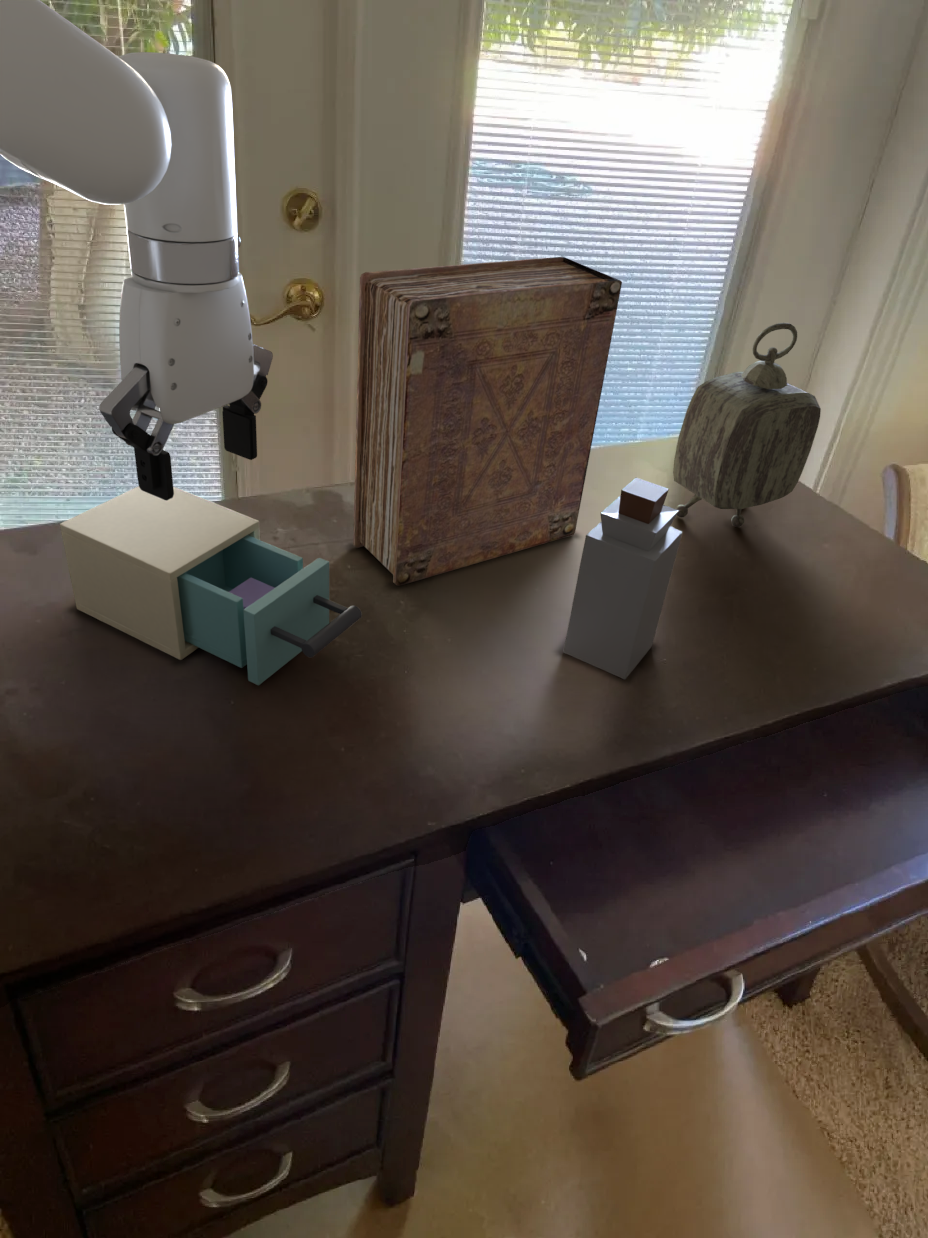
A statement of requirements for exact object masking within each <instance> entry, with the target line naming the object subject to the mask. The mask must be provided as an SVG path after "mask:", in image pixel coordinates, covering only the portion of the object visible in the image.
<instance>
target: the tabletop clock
mask: <svg viewBox="0 0 928 1238" xmlns="http://www.w3.org/2000/svg"><path fill="white" fill-rule="evenodd" d="M778 330H788V331H790V332H791V335H792V339H791V342H790V344H789V345H788V346H787V347H785V348H784V349H783V350H781V351H779V352H778V349H777V348H776V347H774V346H772V347H769V348H768V350H767V353H766V354H762V353H759V352H758V346H759V344H760V342H761V341H762V340H763V339H764V338H765V337H766V336H767V335H768V334H770V333H771V332H774V331H778ZM797 340H798V330H797V329H796V327H795V326H794V325H793V324H792V323H789V322H779V323H775V324H772V325H769V326H767V327H766V328H765V329H763V330H762V331H761V332H760V333H759V334H758V335H757V337H756V338H755V340H754V342H753V344H752V355H753V356H754V358H755V359H757V361H755V362H753V363H751V364H750V365H748V366H747V367H746V368H745V369H744V370H743V371H735V372H731V373H727V374H724V375H720V376H716V377H712V378H710V379H708V380H706V381H704V382H703V383H701V384H700V385H698V386H697V388H696V390H695V391H694V393H693V395H692V396H691V399H690V401H689V404H688V406H687V409H686V411H685V415H684V418H683V421H682V425H681V428H680V431H679V434H678V437H677V443H676V448H675V455H674V460H673V468H672V474H673V475H672V476H673V481H674V482H675V483H677V484H678V485H680V486H682V487H683V488H684V489H686V490H687V491H689V492H691V493H692V494H693V496H692V497H691V499H689V501H687V503H685V504H678V505H677V506H676V507H675V509H676V510H679V511H678V513H677V515H676V517H678V518H685V517H686V516H687V515H688V514H689V508H690V507H692V506H693V505H695V504H696V503H697V502H699V501H701V500H703V501H705V502H707V503H708V504H709V505H711V506H713V507H714V508H717V509H720V510H735V513H736V514H734V515H733V516H732V517H731V521H730V522H731V525H732V527H735V528H740V527H743V526H744V524H745V522H746V521H745V517H744V515H742V510H743V509H747V508H748V509H749V508H753V507H757V506H762V505H765V504H768V503H771V502H774V501H777V500H779V499H783V498H784V497H786V496H788V495H789V494H790V493H792V492H793V491H794V490H795V488H796V486H797V484H798V482H799V480H800V478H801V476H802V474H803V471H804V469H805V466H806V463H807V460H808V458H809V455H810V453H811V451H812V447H813V445H814V442H815V441H814V440H815V438H816V434H817V431H818V428H819V424H820V420H821V412H822V409H821V406H820V404H819V402H818V399H817V398H816V396H815V395H813V394H812V393H810V392H808V391H805V390H803V389H801V388H799V387H797V386H795V385H793V384H790V383H788V379H787V374H786V372H785V370H784V369H783V367H782V366H781V364H779V363H777V362H776V360H778V359H781V358H783V357H784V356H787V355H788V354H789V353H790V352H791V350H792V349H793V348H794V347H795V345H796V343H797Z"/></svg>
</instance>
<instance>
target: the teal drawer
mask: <svg viewBox="0 0 928 1238" xmlns="http://www.w3.org/2000/svg"><path fill="white" fill-rule="evenodd" d="M249 578H253V579H256V580H258V581H260V582H263V583H265V584H267V585H270V586H272V587H274V589H273V590H271V591H270V592H268V593H267V594H266V595H264V596H263V597H261V598H260V599H258V600H257V601H255V602H254V603H253V604H251V605H250V606H248V607H247V608H245V609H243V598H241V597H238V596H236V595H234V594H232V593H230V592H229V591H231V590H232V589H234V588H235V587H237V586H239V585H240V584H242V583H243V582H245V581H246V580H248V579H249ZM177 581H178V589H179V597H180V606H181V614H182V622H183V631H184V639H185V641H186V642H188V643H191V644H193V645H195V646H197V647H199V648H198V649H201V650H203V651H205V652H207V653H210V654H211V655H214V656H215V657H217V658H220V659H221V660H224V661H226V662H228V663H229V664H232V665H234V666H236V667H238V668H241V669H243V668H244V667H245V666H246V667H247V680H248V682H250V683H252V684H255V685H256V686H260V685H261V684H263V683H264V682H265V681H266V680H267V679H269V678H270V677H271V676H272V675H274V674H275V673H276V672H277V671H279V670H280V669H281V668H282V667H284V666H285V665H286V664H288V663H289V662H290V661H292V660H293V659H294V658H295V657H296V656H297V655H299V654H300V653H303V655H304V656H306V657H308V658H314V657H315V656H316V655H317V654H319V653H320V652H321V651H322V650H324V649H325V648H326V647H327V646H329V644H331V643H332V642H333V641H334V640H336V639H337V638H338V637H339V636H341V635H342V634H343V633H344V632H346V631H347V630H349V628H350V627H352V626H353V625H354V624H356V623H357V622H358V621H359V620H361V618H362V616H363V614H362V610H361V609H360V608H359V607H358V606H356V605H350V606H348V607H347V606H344V605H342V604H340V603H337V602H335V601H332V600H330V561H329V560H326V559H324V558H322V557H317V558H316V559H315V560H313V561H312V562H311V563H309V564H307V565H306V566H305V567H304V558H303V557H302V556H300V555H297V554H295V553H292V552H290V551H287V550H285V549H282V548H280V547H277V546H275V545H273V544H270V543H268V542H265V541H263V540H261V539H260V540H258V539H256V538H253V537H251V536H248V535H246V536H245V537H243V538H241V539H240V540H238V541H236V542H235V543H233V544H231V545H230V546H228V547H226V548H225V549H223V550H221V551H220V552H218V553H216V554H215V555H213V556H211V557H210V558H208V559H207V560H205V561H203V562H202V563H200V564H198V565H197V566H195V567H193V568H192V569H190V570H188V571H187V572H185V573H183V574H182V575H180V576H178V577H177ZM330 611H332V612H333V613H336V614H339V615H338V616H337V617H335V618H334V619H332V620H331V621H330Z"/></svg>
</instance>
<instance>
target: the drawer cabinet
mask: <svg viewBox="0 0 928 1238" xmlns="http://www.w3.org/2000/svg"><path fill="white" fill-rule="evenodd" d="M173 489H174V495H173V498H171V499H169V500H167V501H166V500H163V499H161V498H159V497H156V496H154V495H151V494H149V493H147V492H144V491H142V490H141V489H140V488H139V485H137V486H135V487H134V488H131V489H129V490H127V491H125V492H123V493H121V494H119V495H116V496H115V497H113V498H111V499H109V500H106V501H104V502H102V503H100V504H98V505H96V506H94V507H92V508H89V509H87V510H86V511H83V512H82V513H80V514H77V515H75V516H73V517H71V518H68V519H67V520H65V521H63V522H60V523H59V530H60V534H61V539H62V544H63V548H64V553H65V558H66V563H67V567H68V572H69V579H70V583H71V587H72V592H73V597H74V598H73V599H74V602H75V606H76V610H78V611H80V612H81V613H84V614H86V615H88V616H90V617H93V618H94V619H97V620H98V621H100V622H102V623H104V624H106V625H108V626H111V627H113V628H115V629H116V630H119V631H120V632H123V633H125V634H127V635H129V636H131V637H133V638H135V639H137V640H138V641H141V642H142V643H145V644H147V645H149V646H151V647H153V648H154V649H157V650H159V651H161V652H163V653H165V654H167V655H169V656H171V657H173V658H175V659H177V660H179V661H182V660H183V659H186V657H188V656H190V655H191V654H192V653H193V652H195V651H196V650H198V649H200V648H199V647H197V646H195V645H193V644H191V643H188V642H186V641H185V639H184V631H183V622H182V614H181V606H180V597H179V589H178V581H177V577H178V576H180V575H182V574H183V573H185V572H187V571H188V570H190V569H192V568H193V567H195V566H197V565H198V564H200V563H202V562H203V561H205V560H207V559H208V558H210V557H211V556H213V555H215V554H216V553H218V552H220V551H221V550H223V549H225V548H226V547H228V546H230V545H231V544H233V543H235V542H236V541H238V540H240V539H241V538H243V537H245V536H246V535H248V536H251V537H253V538H256V539H258V540H261V533H260V532H261V531H260V521H259V520H258V519H255V518H252V517H250V516H248V515H246V514H243V513H240V512H237V511H235V510H233V509H230V508H228V507H226V506H223V505H221V504H218V503H215V502H213V501H211V500H208V499H205V498H203V497H200V496H199V495H195V494H193V493H191V492H188V491H186V490H184V489H181V488H178V487H176V486H173Z"/></svg>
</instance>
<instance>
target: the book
mask: <svg viewBox="0 0 928 1238" xmlns="http://www.w3.org/2000/svg"><path fill="white" fill-rule="evenodd" d="M622 286H623V281H621V279H618V278H616V277H613V276H611V275H609V274H606V273H603V272H602V271H600V270H597V269H594V268H592V267H590V266H588V265H585V264H582V263H580V262H578V261H575V260H573V259H571V258H568V257H565V256H552V257H541V258H540V257H539V258H528V259H515V260H513V259H512V260H502V261H490V262H489V261H488V262H476V263H475V262H474V263H463V264H452V265H450V264H449V265H439V266H427V267H425V266H424V267H414V268H413V267H412V268H402V269H387V270H378V271H376V270H375V271H365V272H363V273H361V274H360V276H359V299H358V304H359V305H358V332H357V333H358V336H357V337H358V338H357V339H358V340H357V376H356V377H357V379H356V412H355V413H356V415H355V418H356V419H355V424H356V425H355V452H354V453H355V456H354V463H355V464H354V489H353V490H354V494H353V496H354V497H353V527H352V528H353V532H352V534H353V535H352V545H353V546H354V547H355V548H356V549H358V548H362V547H364V548H365V549H366V550H368V551H369V553H370V554H371V555H373V556H374V557H375V558H376V559H377V560H378V561H379V563H381V564H382V566H383V567H384V568H386V569H387V570H388V571H389V572H390V573H391V574H392V576H393V580H392V582H393V583H394V585H396V586H403V585H406V584H410V583H413V582H417V581H420V580H424V579H428V578H431V577H434V576H437V575H441V574H445V573H448V572H451V571H454V570H458V569H462V568H466V567H469V566H472V565H475V564H478V563H482V562H485V561H489V560H493V559H497V558H499V557H503V556H506V555H510V554H513V553H516V552H520V551H523V550H526V549H531V548H534V547H538V546H540V545H544V544H547V543H550V542H555V541H557V540H561V539H564V538H568V537H572V536H574V535H575V534H576V529H577V524H578V519H579V514H580V508H581V503H582V498H583V492H584V487H585V481H586V476H587V471H588V465H589V460H590V455H591V449H592V445H593V439H594V435H595V429H596V424H597V418H598V413H599V407H600V402H601V397H602V391H603V387H604V381H605V377H606V376H605V375H606V369H607V365H608V360H609V355H610V349H611V345H612V344H611V343H612V338H613V332H614V327H615V322H616V318H617V312H618V306H619V302H620V301H619V300H620V295H621V291H622Z"/></svg>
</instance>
